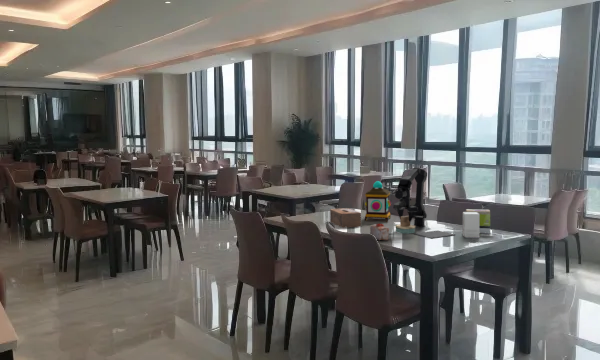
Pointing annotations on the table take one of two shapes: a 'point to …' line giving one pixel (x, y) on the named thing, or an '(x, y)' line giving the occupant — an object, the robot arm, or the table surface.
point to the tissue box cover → (345, 217)
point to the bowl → (405, 230)
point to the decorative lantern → (377, 202)
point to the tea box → (482, 220)
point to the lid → (405, 223)
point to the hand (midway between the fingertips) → (405, 220)
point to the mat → (434, 234)
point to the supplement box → (470, 224)
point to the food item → (379, 231)
